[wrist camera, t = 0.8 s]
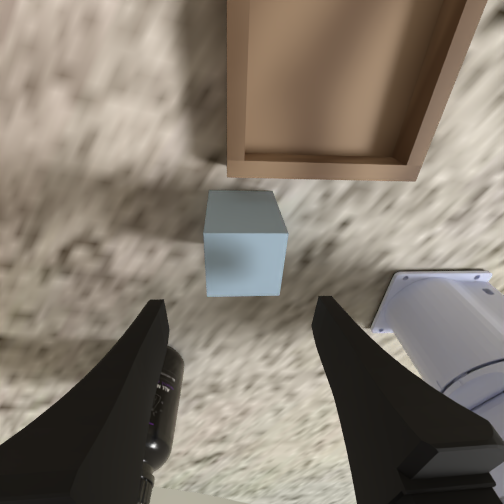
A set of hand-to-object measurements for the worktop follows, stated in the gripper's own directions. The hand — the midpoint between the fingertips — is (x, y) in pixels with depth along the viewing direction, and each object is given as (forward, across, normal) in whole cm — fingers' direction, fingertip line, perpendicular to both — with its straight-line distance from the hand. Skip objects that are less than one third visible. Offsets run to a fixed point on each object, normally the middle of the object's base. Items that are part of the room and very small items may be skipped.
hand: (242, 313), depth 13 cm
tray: (+9, -5, -10) cm, 15 cm away
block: (+9, 0, 0) cm, 9 cm away
